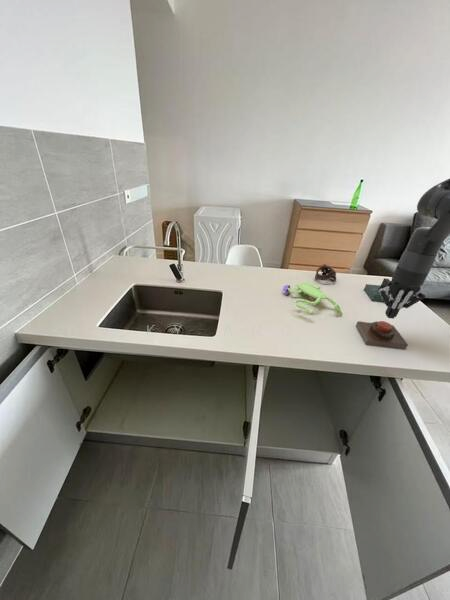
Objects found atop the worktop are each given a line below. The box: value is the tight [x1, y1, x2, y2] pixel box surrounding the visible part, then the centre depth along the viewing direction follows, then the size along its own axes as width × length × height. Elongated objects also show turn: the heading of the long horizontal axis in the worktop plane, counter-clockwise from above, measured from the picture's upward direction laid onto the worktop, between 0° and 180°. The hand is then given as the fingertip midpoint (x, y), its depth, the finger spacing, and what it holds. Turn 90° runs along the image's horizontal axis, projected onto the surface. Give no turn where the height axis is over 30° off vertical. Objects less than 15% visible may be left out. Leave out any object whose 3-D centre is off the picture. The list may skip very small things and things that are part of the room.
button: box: [376, 320, 392, 332], centre depth 79 cm, size 4×4×2 cm
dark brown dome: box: [314, 264, 337, 283], centre depth 117 cm, size 12×10×8 cm
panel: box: [363, 283, 390, 303], centre depth 105 cm, size 12×10×3 cm
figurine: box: [282, 281, 343, 316], centre depth 97 cm, size 18×27×6 cm
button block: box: [355, 320, 408, 351], centre depth 80 cm, size 12×10×4 cm
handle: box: [380, 277, 391, 294], centre depth 103 cm, size 6×2×5 cm, turn 172°
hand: (389, 316), depth 77 cm, fingers closed
